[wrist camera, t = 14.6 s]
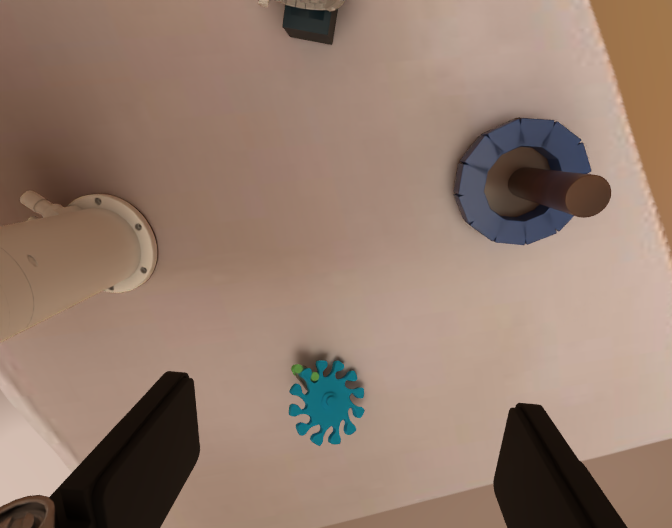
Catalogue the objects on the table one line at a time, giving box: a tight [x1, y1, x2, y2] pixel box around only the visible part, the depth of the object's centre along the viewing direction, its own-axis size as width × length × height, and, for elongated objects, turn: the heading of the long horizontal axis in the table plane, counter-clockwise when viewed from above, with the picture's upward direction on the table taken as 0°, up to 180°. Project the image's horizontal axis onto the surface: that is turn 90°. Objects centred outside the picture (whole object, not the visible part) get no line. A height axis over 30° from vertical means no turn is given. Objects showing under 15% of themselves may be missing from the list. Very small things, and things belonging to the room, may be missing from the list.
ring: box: [454, 118, 591, 245], centre depth 36 cm, size 12×12×2 cm
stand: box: [484, 118, 611, 217], centre depth 32 cm, size 9×9×13 cm
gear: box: [289, 360, 365, 446], centre depth 46 cm, size 11×6×10 cm
